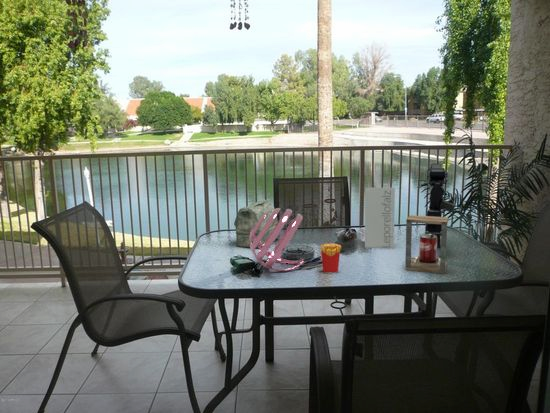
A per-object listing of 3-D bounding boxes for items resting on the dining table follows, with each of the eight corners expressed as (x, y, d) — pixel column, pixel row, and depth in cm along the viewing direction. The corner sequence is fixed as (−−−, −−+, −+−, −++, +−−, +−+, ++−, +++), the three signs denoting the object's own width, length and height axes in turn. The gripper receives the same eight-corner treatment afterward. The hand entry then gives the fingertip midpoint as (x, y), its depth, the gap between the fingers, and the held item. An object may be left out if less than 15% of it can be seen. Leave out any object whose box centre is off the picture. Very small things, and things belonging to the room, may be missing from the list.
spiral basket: (328, 220, 206) (278, 187, 206) (317, 250, 181) (260, 213, 181) (298, 261, 220) (251, 230, 220) (283, 294, 195) (230, 260, 195)
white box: (364, 247, 230) (365, 189, 225) (365, 244, 236) (365, 187, 230) (393, 248, 227) (394, 189, 221) (393, 245, 232) (394, 187, 227)
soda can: (430, 259, 205) (431, 233, 203) (439, 263, 198) (440, 237, 196) (415, 260, 203) (416, 234, 201) (424, 265, 196) (425, 238, 194)
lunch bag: (254, 235, 262) (253, 198, 258) (283, 238, 254) (281, 199, 250) (231, 246, 239) (229, 206, 235) (261, 250, 231) (260, 208, 227)
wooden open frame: (410, 259, 209) (411, 212, 205) (447, 262, 202) (449, 214, 198) (405, 269, 194) (406, 219, 190) (444, 273, 188) (447, 221, 184)
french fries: (321, 272, 194) (321, 245, 192) (321, 269, 198) (320, 243, 196) (341, 272, 193) (341, 245, 191) (340, 269, 197) (340, 243, 195)
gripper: (454, 199, 198) (452, 233, 201) (456, 192, 215) (454, 224, 218) (427, 198, 203) (426, 231, 206) (431, 191, 219) (430, 223, 222)
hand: (435, 227), depth 213 cm, fingers open, 9 cm apart
